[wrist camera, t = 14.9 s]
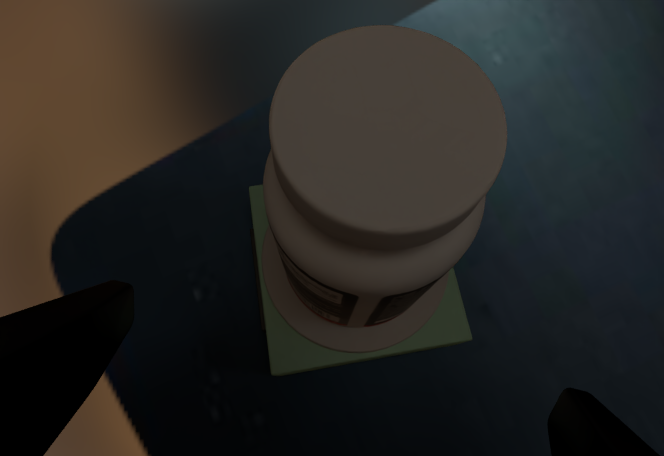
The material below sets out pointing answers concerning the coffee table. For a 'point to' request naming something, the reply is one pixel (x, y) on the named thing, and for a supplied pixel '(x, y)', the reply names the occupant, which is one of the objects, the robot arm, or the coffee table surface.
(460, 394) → the coffee table surface
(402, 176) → the pill bottle
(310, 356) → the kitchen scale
